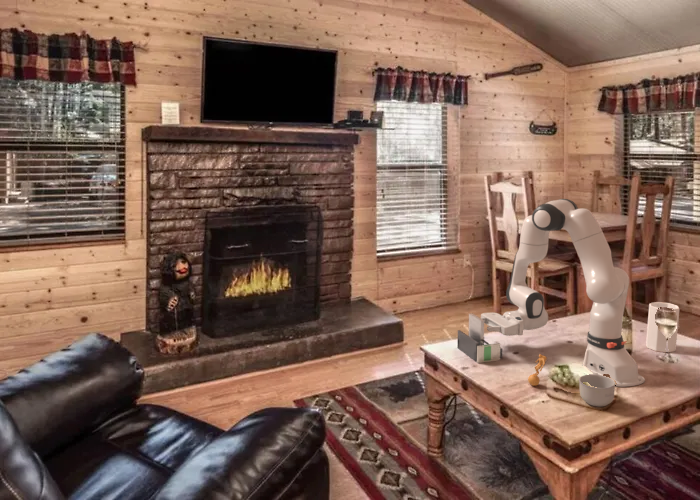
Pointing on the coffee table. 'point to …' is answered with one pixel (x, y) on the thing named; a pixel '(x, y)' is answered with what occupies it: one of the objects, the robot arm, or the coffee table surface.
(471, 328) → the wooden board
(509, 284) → the robot arm
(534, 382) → the figurine
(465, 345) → the gauge housing
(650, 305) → the cup
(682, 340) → the coffee table surface
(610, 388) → the teacup
